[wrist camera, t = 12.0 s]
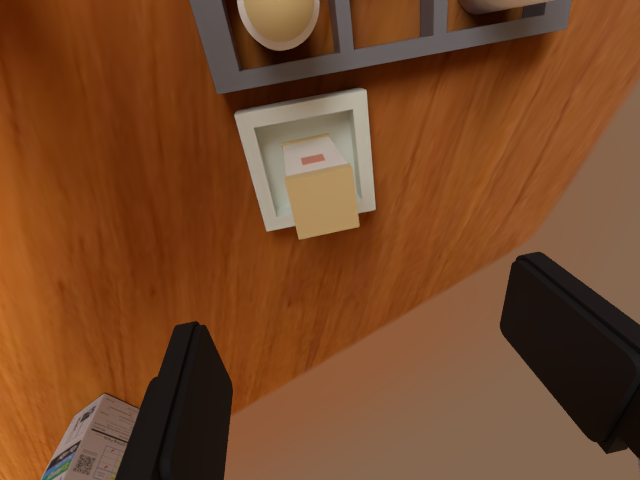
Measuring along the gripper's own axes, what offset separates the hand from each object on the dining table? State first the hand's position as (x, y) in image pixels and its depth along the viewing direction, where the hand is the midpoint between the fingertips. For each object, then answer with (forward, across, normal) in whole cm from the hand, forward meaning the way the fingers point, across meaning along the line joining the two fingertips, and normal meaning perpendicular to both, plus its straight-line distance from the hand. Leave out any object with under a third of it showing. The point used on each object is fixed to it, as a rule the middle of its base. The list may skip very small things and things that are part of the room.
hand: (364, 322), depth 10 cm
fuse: (+22, 0, +2) cm, 22 cm away
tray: (+22, 0, +2) cm, 22 cm away
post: (+22, 0, -10) cm, 24 cm away
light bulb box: (+23, +30, +32) cm, 50 cm away
